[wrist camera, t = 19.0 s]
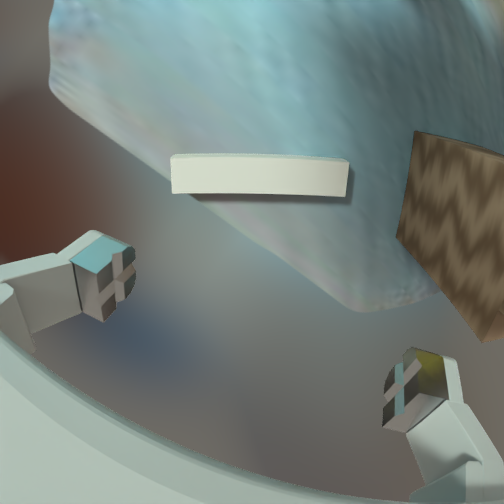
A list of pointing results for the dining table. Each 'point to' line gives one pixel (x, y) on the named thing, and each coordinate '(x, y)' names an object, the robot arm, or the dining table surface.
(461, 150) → the walnut box
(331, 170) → the white rectangular bar
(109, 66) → the dining table surface
